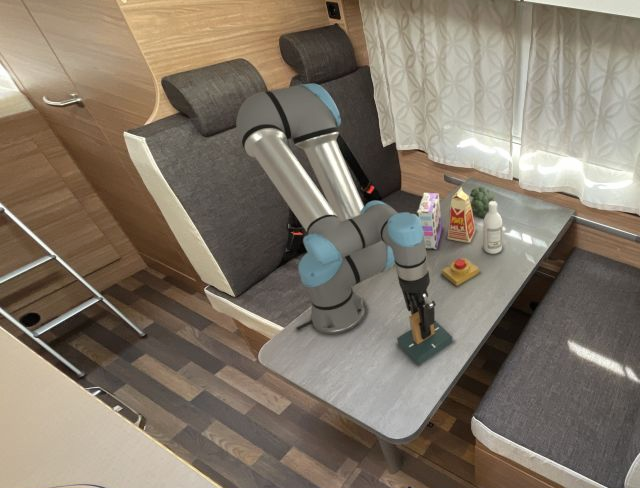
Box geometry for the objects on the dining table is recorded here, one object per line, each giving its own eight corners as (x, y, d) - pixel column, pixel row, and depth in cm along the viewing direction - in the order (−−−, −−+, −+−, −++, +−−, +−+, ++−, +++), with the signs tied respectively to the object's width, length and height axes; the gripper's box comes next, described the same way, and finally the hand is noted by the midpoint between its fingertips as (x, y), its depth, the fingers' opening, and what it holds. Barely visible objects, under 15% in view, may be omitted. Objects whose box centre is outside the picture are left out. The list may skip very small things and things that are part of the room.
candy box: (437, 249, 151) (433, 212, 140) (421, 249, 151) (416, 211, 140) (442, 228, 161) (439, 192, 150) (428, 227, 161) (423, 191, 150)
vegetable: (467, 196, 176) (497, 186, 170) (473, 224, 175) (503, 215, 169) (452, 191, 165) (484, 180, 159) (458, 221, 164) (490, 212, 158)
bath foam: (505, 249, 152) (507, 204, 139) (491, 256, 148) (491, 210, 135) (494, 240, 156) (494, 195, 143) (480, 247, 152) (479, 202, 139)
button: (459, 270, 137) (459, 266, 135) (452, 265, 138) (452, 261, 137) (467, 266, 139) (467, 262, 137) (461, 261, 140) (460, 257, 139)
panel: (418, 366, 112) (417, 359, 109) (398, 344, 117) (396, 337, 115) (452, 342, 118) (451, 335, 116) (431, 323, 123) (430, 316, 121)
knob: (417, 344, 113) (412, 320, 106) (413, 340, 114) (408, 316, 108) (434, 333, 116) (431, 309, 110) (430, 329, 118) (427, 305, 111)
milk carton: (469, 242, 154) (467, 197, 141) (446, 239, 156) (442, 194, 142) (475, 229, 161) (474, 185, 148) (453, 226, 162) (450, 181, 149)
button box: (456, 286, 136) (456, 277, 133) (442, 274, 140) (441, 265, 138) (479, 273, 141) (478, 264, 139) (464, 262, 146) (464, 253, 143)
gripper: (444, 280, 97) (450, 342, 113) (408, 251, 105) (419, 312, 120) (418, 295, 93) (428, 357, 109) (383, 263, 101) (397, 325, 116)
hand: (423, 333), depth 114 cm, fingers closed on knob, 2 cm apart
